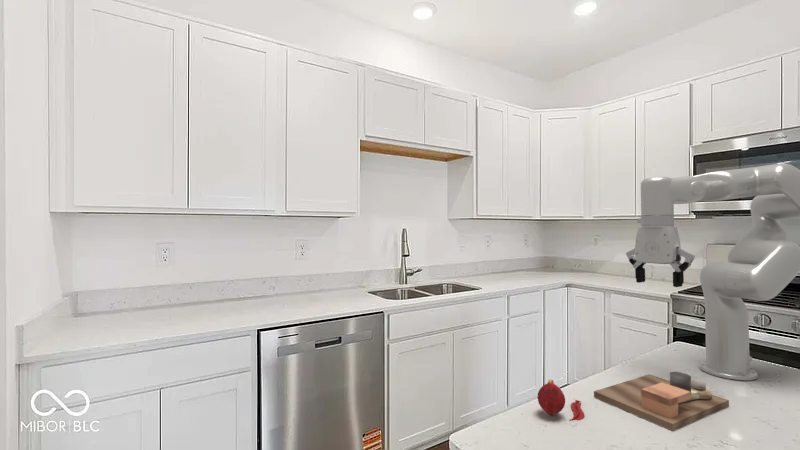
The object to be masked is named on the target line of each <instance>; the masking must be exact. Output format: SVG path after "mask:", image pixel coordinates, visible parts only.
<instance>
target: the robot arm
mask: <svg viewBox="0 0 800 450" xmlns="http://www.w3.org/2000/svg"><path fill="white" fill-rule="evenodd" d="M752 197H754V198H753V199H752V200H751V202H750V206H749V208H750V209H749V210H750V214H751V221H752V225H751V229H750V230H749V231H748V232H747V233H746V234H745V235H744V236H743V237H742V238H741V239H740V240H738V242H737V243H736V244H734V245H733V247H732V248H731V249H730V250H729V252H728V255H727V261H716V262H715V261H713V262H710V263H708V264H705V265H704V266H703V268H702V269H701V271H700V272H699V280H700V284H701V285H700V286H701V289H702V293H703V299H704V311H705V312H704V316H705V317H704V320H705V321H704V322H705V324H704V325H705V326H704V327H705V329H704V330H705V360H706V361H705V360H703V361H701V362H700V363H699V368H700V370H702V371H703V372H704V373H707V374H709V375H712V376H715V377H720V378H724V379H728V380H734V381H735V380H736V381H754V380H756V379H758V372H756V370H754V369H752V368H750V363H751V362H752V361H753V357H752V356H751V355H750V331H749V330H750V328H749V327H750V325H749V324H750V323H749V320H750V318H749V315H750V314H749V311H748V307H747V305H746V304H745V302H744V300H745V299H746V300H749V301H757V302H759V301H760V302H766V301H770V300H772V299H774V298H775V297H776V296H778V295H779V294H780V293H781V292H782V291H783V290H784V289H785V288H787V286H788V285H789V284H790V283H791V282H792V281H793V280H794V278H796V277H797V275H798V274H799V273H800V245H798V244H797V243H795V242H793V241H790V240H788V239H789V235H788V232H787V230H786V228H784V227H783V225H782V224H781V221H780V220H794V219H795V220H796V219H797V220H800V169H799V168H798V167H796V166H794V165H793V164H789V163H774V164H767V165H761V166H752V167H743V168H736V169H726V170H717V171H712V172H711V171H710V172H705V173H701V174H697V175H692V176H691V175H686V176H679V177H669V176H657V177H656V176H655V177H654V176H653V177H648V178H644V179H642V180H641V182H640V218H637V219H636V220H637V221H636V223H637V224H640V227H637V232H636V236H635V244H634V248H633V249H630V250H629V251H626V253H625V255H626V257H627V258H628V261H629V263H630V264H631V265H632V267H633V269H635V276H634V277H635V280H636V281H635V282H636V283H638V284H639V283H644V282H646V268H645V267H644V266H645V265H646V264H655V265H669V266H671V268H673V270H674V271H673V272H672V286H673V287H674V288H679V287H683V284H684V282H685V281H684V273H685V272H686V270H687V269H688V268H689V267H691V266H692V263H693V262H694V260H695V258H696V257H695V256H696V255H694V254H691V253H690V252H688V251H686V250H684V249H682V248H681V247H682V246H681V241H680V240H681V239H680V234H679V231H678V229H677V228H678V227H676V226H675V215H674V214H675V211H674V209H675V208H674V207H675V206H674V205H686V204H693V203H696V202H719V201H728V200H734V199H742V198H752ZM682 257H683V258H684V261H683V262H682V263H681V261H682ZM743 299H744V300H743Z"/></svg>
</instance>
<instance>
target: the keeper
mask: <svg viewBox="0 0 800 450" xmlns="http://www.w3.org/2000/svg"><path fill="white" fill-rule="evenodd" d="M641 399H642V407H643V408H646V409H648V410H651V411H653V412H656V413H658V414H661V415H663V416H665V417H668V418H673V417H675V416H678V403H681V402H683V401H686V400H689V399H691V392H690V391H687V390H684V389H681V388H678V387H675V386H672V385H669V384H665V383H662V382H661V383H658V384H655V385H652V386H649V387H646V388H643V389H641Z"/></svg>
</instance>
